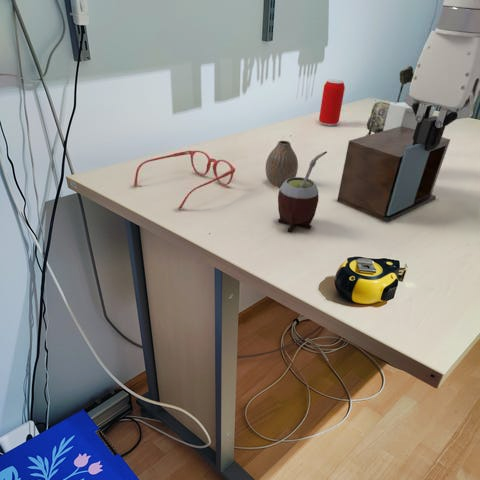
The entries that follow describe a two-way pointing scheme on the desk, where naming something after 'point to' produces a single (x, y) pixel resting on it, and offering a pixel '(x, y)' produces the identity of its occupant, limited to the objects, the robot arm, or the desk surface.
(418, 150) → the sliding door
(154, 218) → the desk surface
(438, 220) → the desk surface
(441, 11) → the robot arm
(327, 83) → the beverage can
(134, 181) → the red eyeglasses
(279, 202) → the mate gourd
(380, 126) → the camouflage trail camera
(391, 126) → the cosmetic box
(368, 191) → the cabinet
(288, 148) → the vase
